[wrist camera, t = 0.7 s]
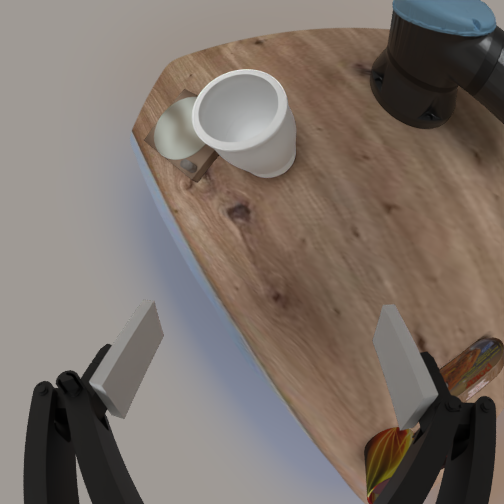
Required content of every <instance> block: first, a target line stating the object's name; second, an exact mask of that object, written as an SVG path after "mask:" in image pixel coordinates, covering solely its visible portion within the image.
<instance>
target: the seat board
mask: <svg viewBox="0 0 504 504" xmlns="http://www.w3.org/2000/svg"><path fill="white" fill-rule="evenodd" d="M197 97H198V96H197V95H195V94H193V93H192V92H190V91H188V90H186V89H184V90H183V91H182V92H181V93H180V95H179V96H178V97H177V98H176V99H175V101H174V102H173V103H172V104H171V105H170V107H169V108H168V109H167V110H166V111H165V112H164V113H163V114H162V116H161V117H160V119H159V120H158V122H157V123H156V124H155V126H154V127H153V128H152V130H151V131H150V132H149V134H148V135H147V137H146V138H145V139H144V141H145V142H147V143H148V144H149V145H150V146H152V147H153V148H154V149H155V150H156V151H158V152H159V153H160V154H161V155H162V156H164V157H165V158H166V159H167V160H169V161H170V162H171V163H172V164H173V165H175V166H176V167H177V168H178V169H180V170H181V171H182V172H183V173H184V174H186V175H187V176H188V177H189V178H190V179H192V180H193V181H195V182H198V181H199V180H200V179H201V177H202V176H203V175H204V173H205V172H206V171H207V169H208V168H209V167H210V166H211V164H212V163H213V162H214V161H215V159H216V158H217V157H218V156H219V154H218V153H217V152H216V151H215V149H214V148H212V147H210V146H208V145H207V144H206V143H204V142H203V141H202V140H201V139H200V138H199V137H198V135H197V134H196V132H195V130H194V128H193V124H192V110H193V106H194V103H195V101H196V99H197Z"/></svg>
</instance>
